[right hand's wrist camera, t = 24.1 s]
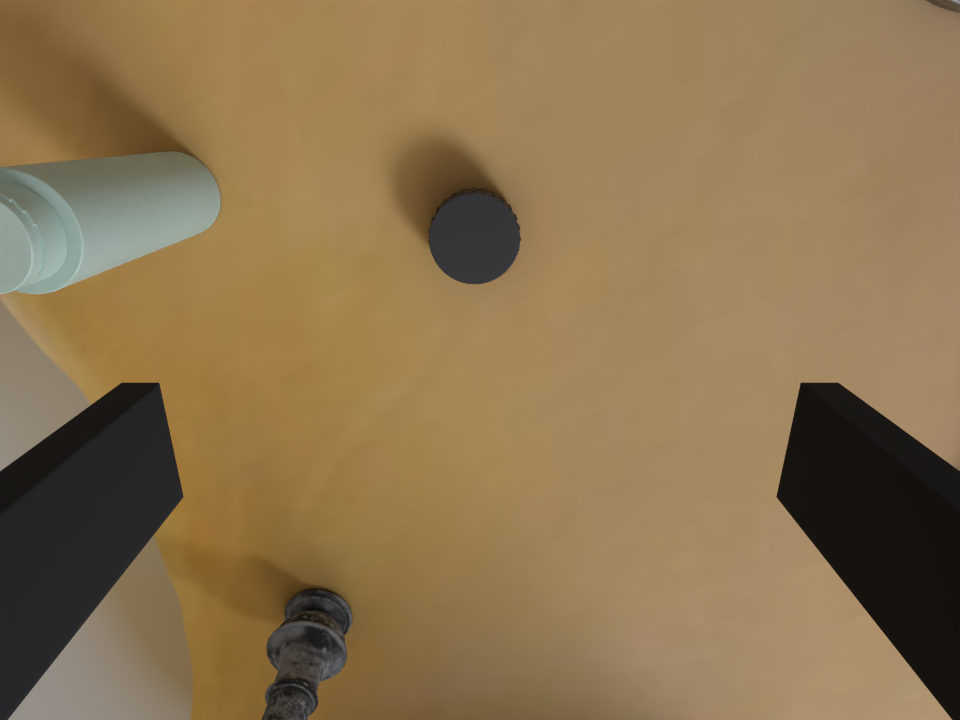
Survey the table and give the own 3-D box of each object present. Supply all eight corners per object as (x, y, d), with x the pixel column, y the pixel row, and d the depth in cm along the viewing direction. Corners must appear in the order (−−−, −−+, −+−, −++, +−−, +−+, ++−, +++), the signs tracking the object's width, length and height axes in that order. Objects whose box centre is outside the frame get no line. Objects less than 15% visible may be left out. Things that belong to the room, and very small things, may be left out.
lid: (414, 215, 36) (410, 220, 34) (493, 170, 35) (493, 173, 33) (457, 291, 38) (456, 301, 36) (534, 250, 37) (537, 258, 35)
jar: (235, 183, 36) (68, 225, 21) (199, 251, 37) (21, 333, 23) (158, 133, 35) (-72, 142, 20) (124, 205, 36) (-112, 260, 22)
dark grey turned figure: (289, 646, 49) (233, 802, 38) (274, 589, 47) (209, 736, 35) (361, 641, 49) (326, 797, 37) (349, 583, 46) (308, 730, 35)
